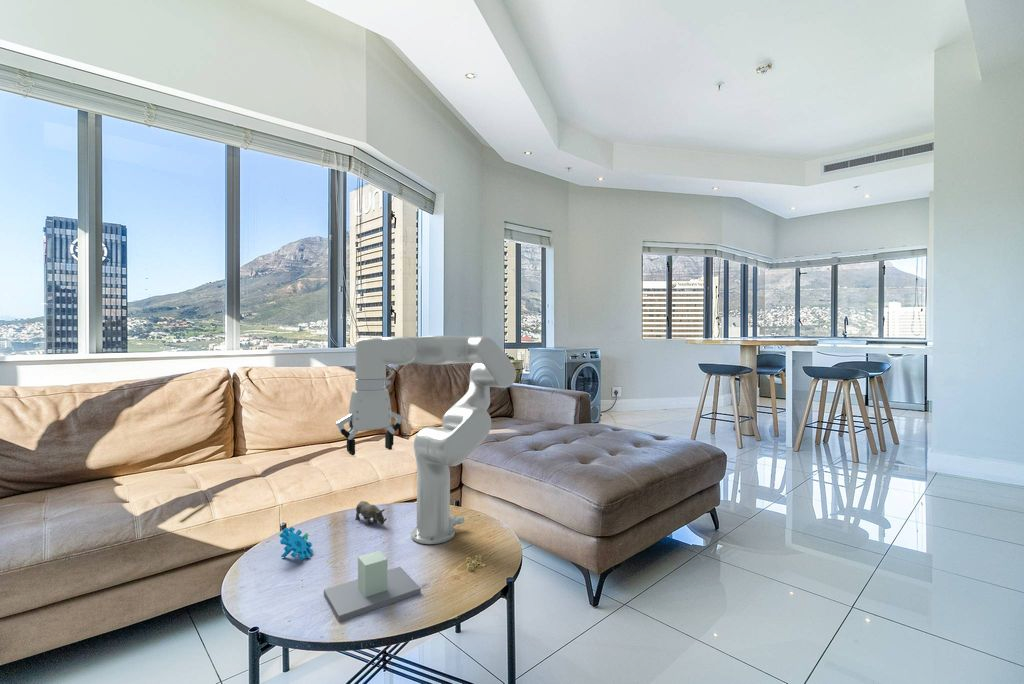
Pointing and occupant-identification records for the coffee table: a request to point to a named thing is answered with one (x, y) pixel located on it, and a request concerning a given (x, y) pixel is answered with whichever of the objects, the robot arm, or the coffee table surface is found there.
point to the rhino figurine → (369, 513)
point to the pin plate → (352, 602)
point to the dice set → (473, 562)
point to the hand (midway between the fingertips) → (370, 451)
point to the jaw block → (372, 573)
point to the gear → (295, 543)
